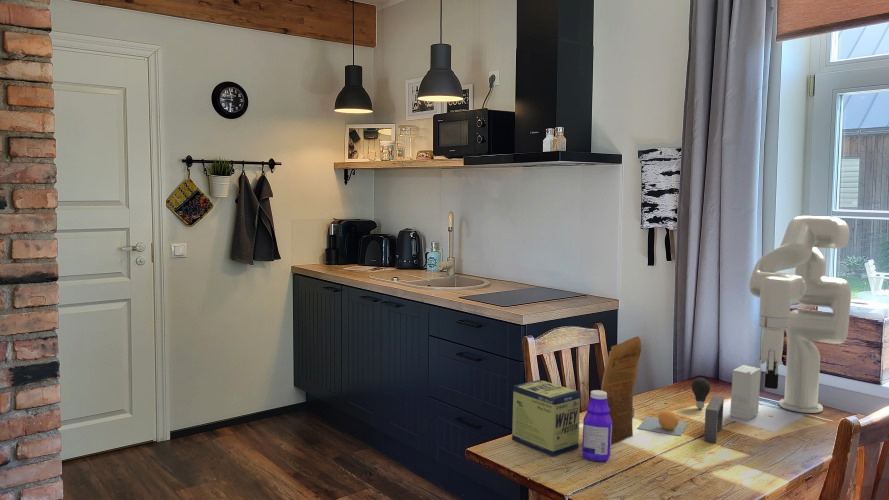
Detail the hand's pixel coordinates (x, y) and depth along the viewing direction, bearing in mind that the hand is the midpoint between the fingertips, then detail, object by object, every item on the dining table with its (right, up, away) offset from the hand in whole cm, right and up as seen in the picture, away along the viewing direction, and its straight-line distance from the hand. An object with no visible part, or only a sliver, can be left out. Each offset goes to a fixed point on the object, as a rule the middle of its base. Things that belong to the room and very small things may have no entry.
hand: (771, 387), depth 193 cm
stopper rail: (-35, -13, +17) cm, 41 cm away
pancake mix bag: (-42, -15, +2) cm, 45 cm away
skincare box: (+3, -13, +23) cm, 27 cm away
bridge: (-14, -15, +6) cm, 21 cm away
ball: (-25, -11, +9) cm, 29 cm away
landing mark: (-26, -14, +12) cm, 32 cm away
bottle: (-51, -16, -13) cm, 55 cm away
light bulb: (-9, -13, +29) cm, 33 cm away
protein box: (-63, -15, -3) cm, 64 cm away
